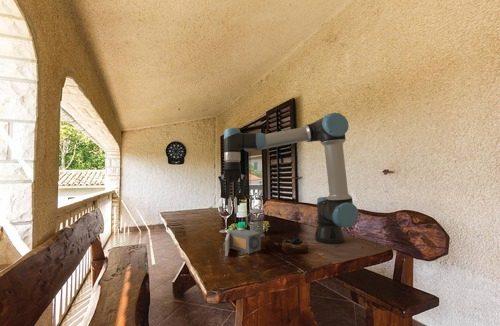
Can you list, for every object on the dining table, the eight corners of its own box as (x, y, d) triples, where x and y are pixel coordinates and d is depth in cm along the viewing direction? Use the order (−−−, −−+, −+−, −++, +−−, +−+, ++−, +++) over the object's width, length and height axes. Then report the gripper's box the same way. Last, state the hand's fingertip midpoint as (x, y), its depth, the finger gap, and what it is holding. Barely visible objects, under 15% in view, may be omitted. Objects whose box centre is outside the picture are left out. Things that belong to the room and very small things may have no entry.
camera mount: (255, 243, 127) (255, 223, 127) (241, 244, 125) (241, 224, 125) (249, 237, 139) (249, 219, 139) (236, 238, 137) (236, 220, 137)
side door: (227, 255, 106) (227, 239, 106) (223, 255, 106) (223, 239, 106) (230, 247, 119) (230, 232, 119) (226, 247, 119) (226, 232, 119)
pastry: (279, 248, 118) (279, 235, 119) (303, 246, 120) (302, 234, 120) (285, 255, 107) (284, 242, 108) (311, 254, 109) (310, 240, 109)
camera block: (263, 250, 114) (262, 231, 114) (250, 254, 108) (250, 235, 109) (240, 244, 125) (240, 227, 125) (228, 247, 119) (228, 229, 119)
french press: (259, 237, 137) (259, 193, 138) (242, 235, 143) (241, 192, 144) (267, 233, 145) (266, 192, 146) (250, 231, 151) (250, 191, 152)
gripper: (213, 161, 110) (214, 213, 109) (247, 160, 108) (248, 214, 107) (218, 162, 117) (218, 211, 116) (250, 161, 115) (250, 211, 114)
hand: (233, 212), depth 112 cm, fingers open, 3 cm apart
